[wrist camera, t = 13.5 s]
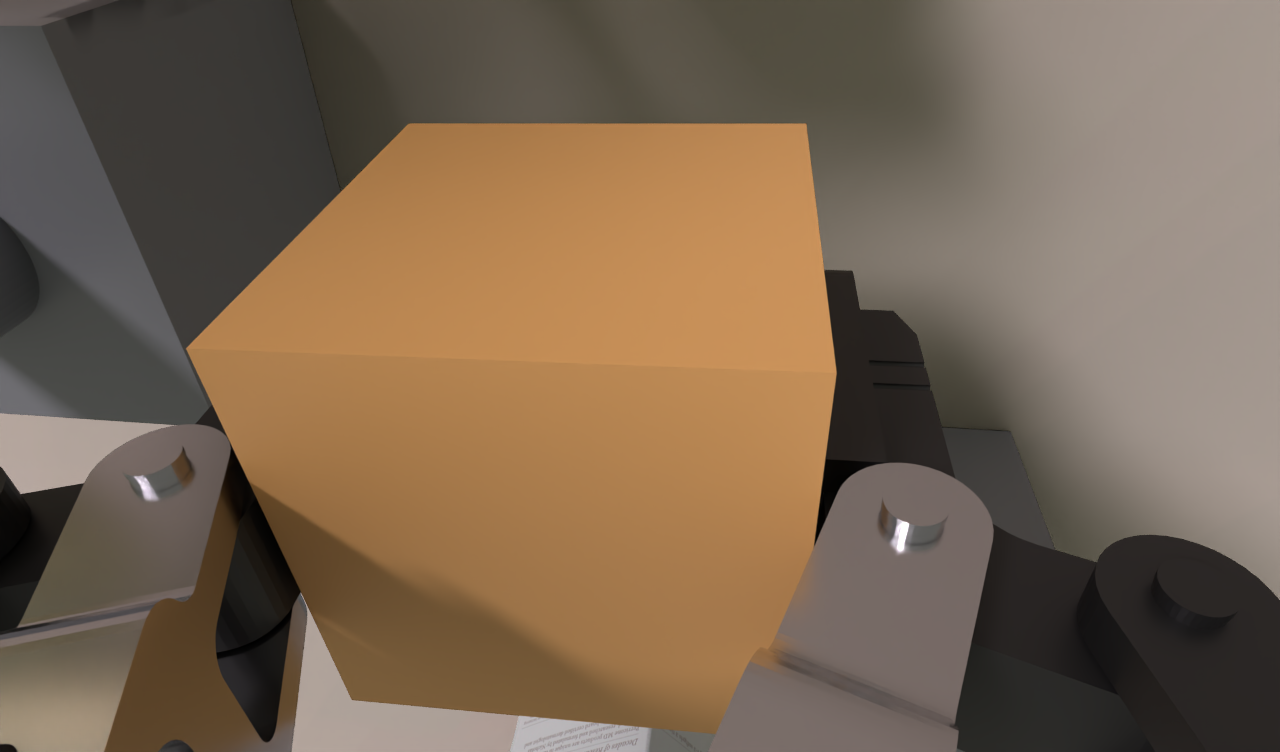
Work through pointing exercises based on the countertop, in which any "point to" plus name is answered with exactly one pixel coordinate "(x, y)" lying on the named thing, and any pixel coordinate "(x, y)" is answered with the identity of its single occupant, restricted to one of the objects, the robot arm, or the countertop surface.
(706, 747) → the supplement box
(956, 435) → the hood low side
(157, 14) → the hood high side
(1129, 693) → the robot arm
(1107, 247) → the countertop surface
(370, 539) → the orange block
